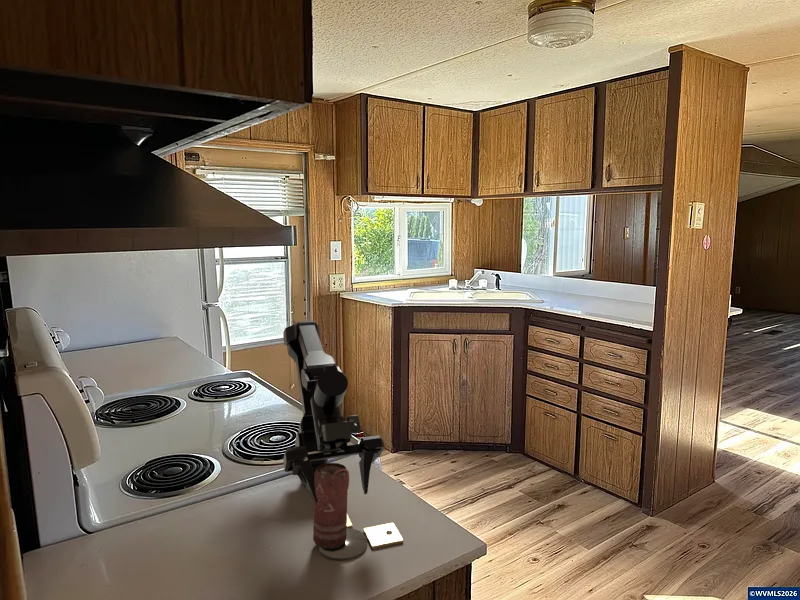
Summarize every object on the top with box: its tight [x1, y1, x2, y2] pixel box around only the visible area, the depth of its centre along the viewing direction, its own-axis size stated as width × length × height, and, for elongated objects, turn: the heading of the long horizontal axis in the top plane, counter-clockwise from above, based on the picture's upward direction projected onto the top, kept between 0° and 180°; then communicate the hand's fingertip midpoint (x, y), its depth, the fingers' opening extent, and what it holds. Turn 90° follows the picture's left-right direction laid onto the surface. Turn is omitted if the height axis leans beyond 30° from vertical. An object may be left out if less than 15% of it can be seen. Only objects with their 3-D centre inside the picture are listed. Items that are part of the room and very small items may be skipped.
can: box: [312, 462, 350, 549], centre depth 101 cm, size 6×6×14 cm
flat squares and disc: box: [318, 514, 404, 561], centre depth 106 cm, size 15×15×1 cm
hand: (341, 498), depth 101 cm, fingers open, 9 cm apart
